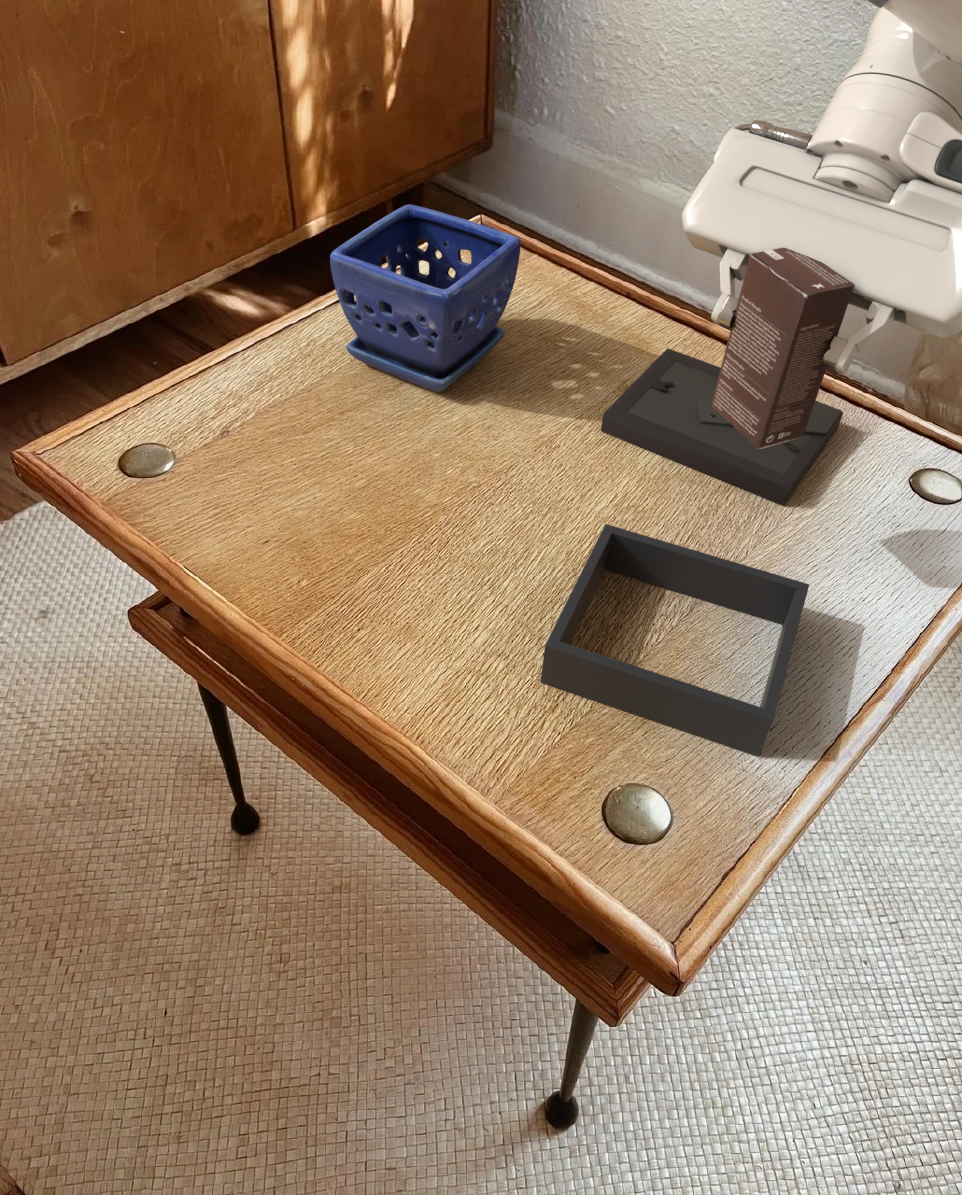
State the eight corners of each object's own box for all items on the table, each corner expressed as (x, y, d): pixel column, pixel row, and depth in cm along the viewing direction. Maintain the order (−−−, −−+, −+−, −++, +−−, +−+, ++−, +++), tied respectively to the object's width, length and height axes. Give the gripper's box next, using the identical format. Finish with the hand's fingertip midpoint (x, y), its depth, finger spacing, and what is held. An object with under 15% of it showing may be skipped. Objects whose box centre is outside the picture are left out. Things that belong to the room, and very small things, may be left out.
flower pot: (330, 367, 98) (321, 251, 90) (409, 309, 107) (407, 197, 98) (446, 414, 94) (448, 296, 85) (519, 349, 102) (528, 236, 93)
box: (807, 437, 73) (859, 283, 65) (756, 452, 72) (802, 297, 63) (756, 391, 77) (799, 240, 68) (707, 405, 76) (744, 253, 67)
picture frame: (837, 429, 95) (664, 364, 101) (844, 409, 93) (668, 345, 99) (784, 506, 87) (599, 431, 93) (791, 486, 85) (602, 410, 92)
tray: (795, 621, 78) (809, 583, 75) (758, 757, 69) (773, 720, 66) (599, 561, 81) (605, 523, 78) (539, 682, 72) (544, 645, 69)
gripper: (728, 88, 69) (632, 277, 71) (1036, 178, 61) (920, 389, 62) (743, 136, 75) (654, 309, 76) (1026, 223, 67) (920, 415, 68)
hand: (776, 346), depth 69 cm, fingers closed on box, 7 cm apart
